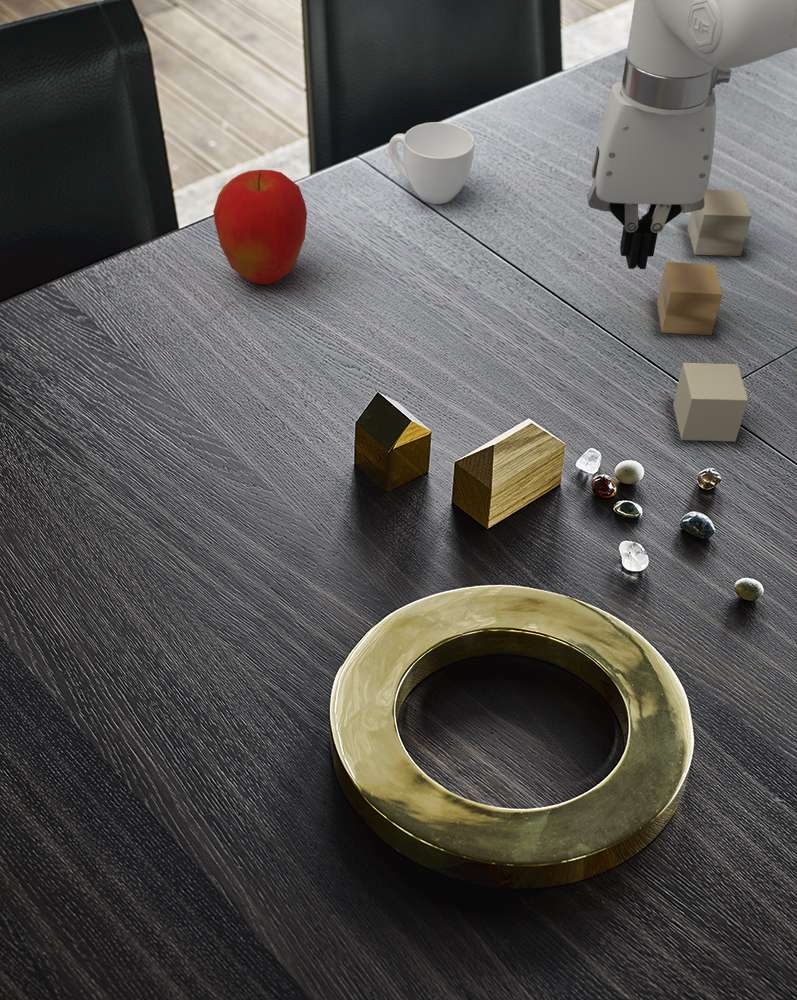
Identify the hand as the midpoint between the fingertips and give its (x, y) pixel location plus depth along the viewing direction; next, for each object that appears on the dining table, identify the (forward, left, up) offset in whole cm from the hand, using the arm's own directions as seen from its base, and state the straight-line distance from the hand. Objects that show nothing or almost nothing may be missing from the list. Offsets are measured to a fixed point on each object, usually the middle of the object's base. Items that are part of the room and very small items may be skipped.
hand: (635, 260), depth 120 cm
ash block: (-12, -15, -7) cm, 20 cm away
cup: (+19, -23, -8) cm, 31 cm away
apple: (+36, -6, -8) cm, 38 cm away
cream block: (-6, +15, -7) cm, 17 cm away
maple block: (-6, -1, -7) cm, 10 cm away
